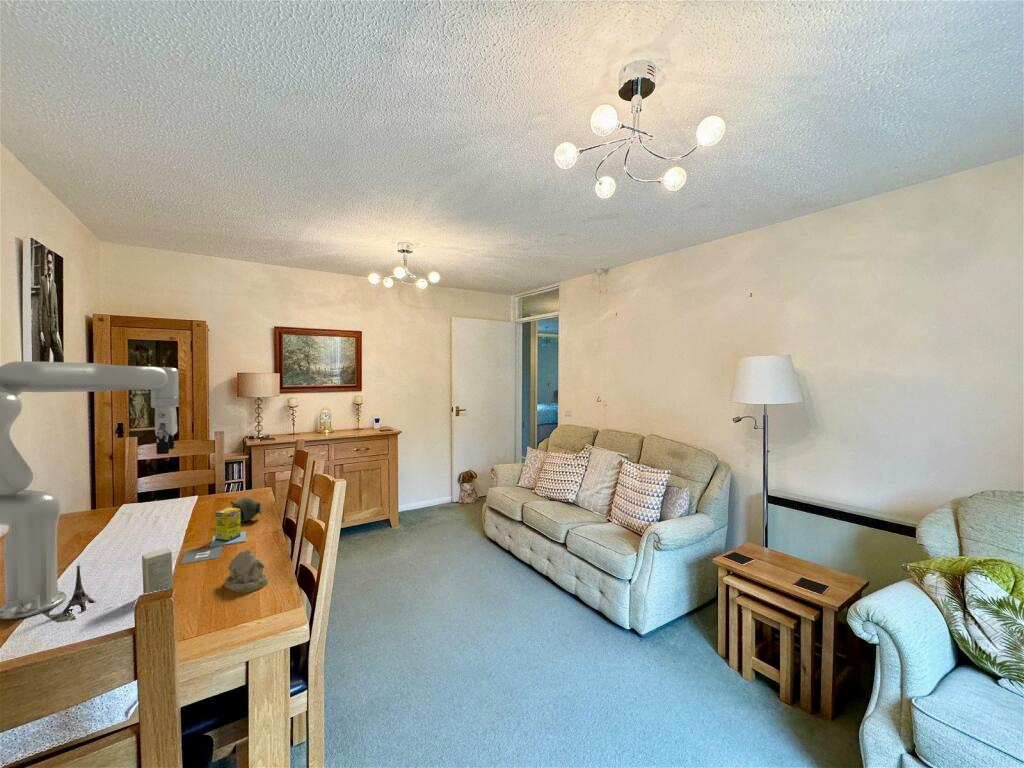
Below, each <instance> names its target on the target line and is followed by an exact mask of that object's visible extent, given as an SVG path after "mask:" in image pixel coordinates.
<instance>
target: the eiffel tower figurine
mask: <svg viewBox="0 0 1024 768" xmlns="http://www.w3.org/2000/svg"><path fill="white" fill-rule="evenodd" d="M75 579H76V580H75V587H74V591H73V594H72V597H71V599H70V600H69V601H68V604H67V606H66V607H65V609H64V610H63V611H62V613H56V614H55V613H54V614H50V612H51V611H53V610H54V609H55V607H53V608H51V609H49V610H46V611H43V612H41V613H42V614H43V615H45V616H46V617H48V618H50V619H51V620H53V621H54V622H56V623H57V624H59V622H60V623H65V621H66V622H71V621H76V620H77V619H76V618H75V616H73V615H74V614H72V613H70V612H69V611H71V612H72V610H73V609H69V608H70V607H71V606H75V605H79V606H80V607H81V612H80V613H85V612H84V611H86V610H87V609H86V606H85V603H95V602H96V603H97V601H95V600H94V599H93V598H91V597H89V594H87V593H86V592H85V589H84V587H83V584H82V576H81V565H80V564H79V562H78V563H77V566H76V578H75ZM96 603H95V604H96ZM87 611H88V610H87ZM87 611H86V612H87ZM67 614H68V615H67ZM71 614H72V615H71ZM75 619H76V620H75Z"/></svg>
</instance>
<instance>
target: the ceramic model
mask: <svg viewBox="0 0 1024 768" xmlns="http://www.w3.org/2000/svg"><path fill="white" fill-rule="evenodd" d="M265 567H266V565H265V563H264V562H263V561H262V560H261V559H259V558H258V557H257V556H256V555H255V554H253V553H251V550H249V549H246V550H241V551H239V553H238V554H237V555H236V556H235V557H234V558H233V559H232V560H231V561H230V563H229V565H228V567H227V570H228V571H229V575H228V576H227V577H226V578H225V580H224V582H225V584H224V588H226V589H228V590H231V591H232V592H237V593H250V592H253V591H256V590H259V589H260V588H263V587H264V586H266V585H267V584H268V582H269V578H268V577H267V575H266V574H265V572H264V569H265Z"/></svg>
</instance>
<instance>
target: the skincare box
mask: <svg viewBox="0 0 1024 768" xmlns="http://www.w3.org/2000/svg"><path fill="white" fill-rule="evenodd" d="M172 554H173V553H172V551H171V549H170V548H168V547H167V548H163V549H160V550H156V551H152V552H148V553H144V554H142V555H141V565H142V566H141V569H142V570H141V571H142V590H143V595H144V594H145V593H150V592H154V591H159V590H163V589H168V588H172V589H173V590H174V581H173V580H174V578H173V577H174V575H173V556H172Z"/></svg>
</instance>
